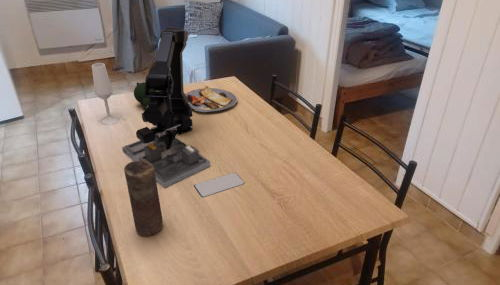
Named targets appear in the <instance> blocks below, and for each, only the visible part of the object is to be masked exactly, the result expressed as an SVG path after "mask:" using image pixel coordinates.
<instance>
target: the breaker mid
mask: <svg viewBox="0 0 500 285" xmlns="http://www.w3.org/2000/svg"><path fill="white" fill-rule="evenodd" d="M144 152H145V158H146V159H147V160H148V161H150V162H151V163H152V162H154V161H157V160H159V159H161V158H162V155H161V148H160V147H159V146H158V145H157V144H155V143H149V144H148V145H147V146H145V147H144Z"/></svg>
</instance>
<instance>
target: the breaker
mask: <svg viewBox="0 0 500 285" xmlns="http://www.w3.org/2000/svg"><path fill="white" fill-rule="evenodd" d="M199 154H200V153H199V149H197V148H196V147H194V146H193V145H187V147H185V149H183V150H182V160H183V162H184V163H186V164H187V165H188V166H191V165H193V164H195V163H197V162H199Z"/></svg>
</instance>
